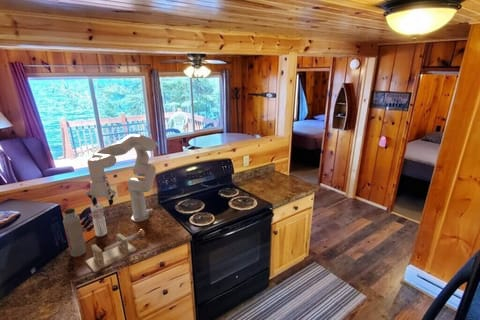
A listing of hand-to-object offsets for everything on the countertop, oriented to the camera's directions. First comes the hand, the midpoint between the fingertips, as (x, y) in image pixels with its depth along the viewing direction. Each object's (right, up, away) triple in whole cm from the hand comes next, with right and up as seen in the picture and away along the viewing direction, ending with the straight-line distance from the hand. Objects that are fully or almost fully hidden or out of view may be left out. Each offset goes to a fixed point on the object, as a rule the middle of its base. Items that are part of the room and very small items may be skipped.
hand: (103, 204), depth 155 cm
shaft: (+14, -23, -1) cm, 27 cm away
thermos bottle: (-13, -28, -3) cm, 31 cm away
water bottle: (-9, -23, +15) cm, 29 cm away
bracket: (+8, -29, -6) cm, 31 cm away
